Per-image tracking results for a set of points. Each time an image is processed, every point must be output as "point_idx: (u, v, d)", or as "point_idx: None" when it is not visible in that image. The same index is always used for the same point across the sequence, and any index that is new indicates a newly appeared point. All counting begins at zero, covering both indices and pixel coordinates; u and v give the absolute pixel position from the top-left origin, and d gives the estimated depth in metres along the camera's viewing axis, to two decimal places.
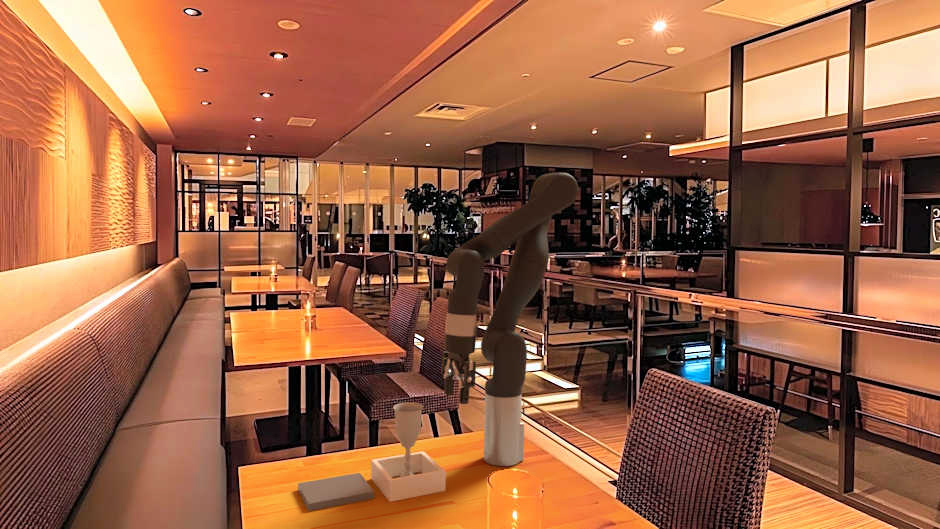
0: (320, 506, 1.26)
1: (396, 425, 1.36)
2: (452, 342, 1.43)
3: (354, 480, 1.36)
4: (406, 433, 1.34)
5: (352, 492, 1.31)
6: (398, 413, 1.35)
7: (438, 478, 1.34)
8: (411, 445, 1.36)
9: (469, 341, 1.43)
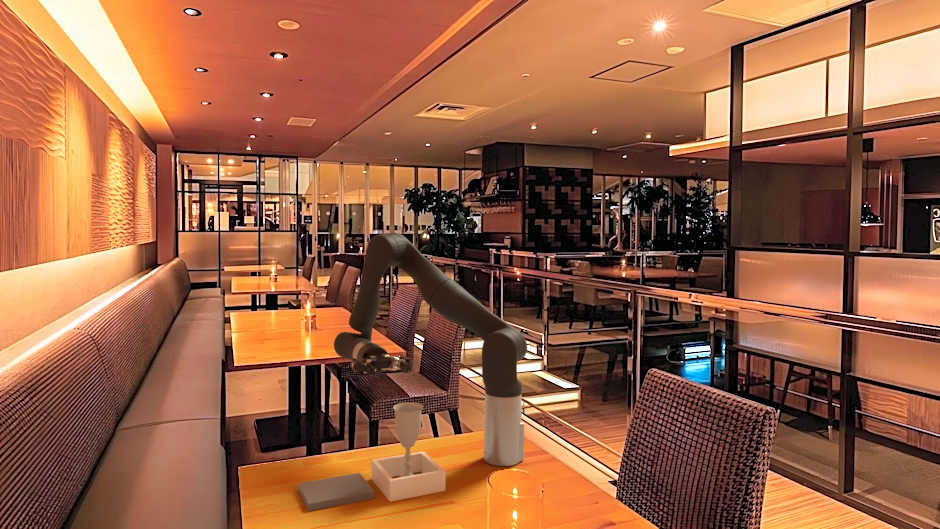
0: (320, 506, 1.26)
1: (396, 425, 1.36)
2: None
3: (354, 480, 1.36)
4: (406, 433, 1.34)
5: (352, 492, 1.31)
6: (398, 413, 1.35)
7: (438, 478, 1.34)
8: (411, 445, 1.36)
9: (358, 355, 1.59)
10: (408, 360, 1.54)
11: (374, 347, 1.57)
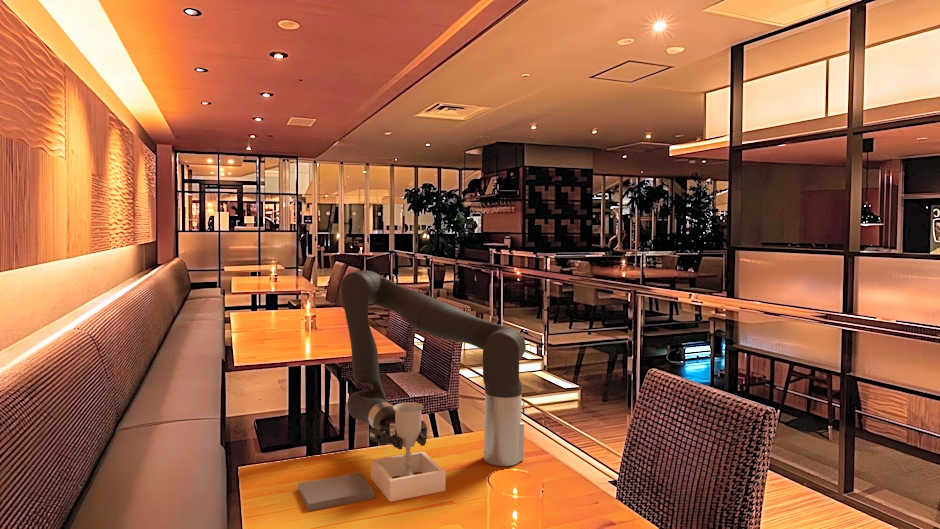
0: (320, 506, 1.26)
1: (396, 425, 1.36)
2: None
3: (354, 480, 1.36)
4: (406, 433, 1.34)
5: (352, 492, 1.31)
6: (398, 413, 1.35)
7: (438, 478, 1.34)
8: (411, 445, 1.36)
9: (375, 421, 1.47)
10: (424, 430, 1.41)
11: (392, 412, 1.46)
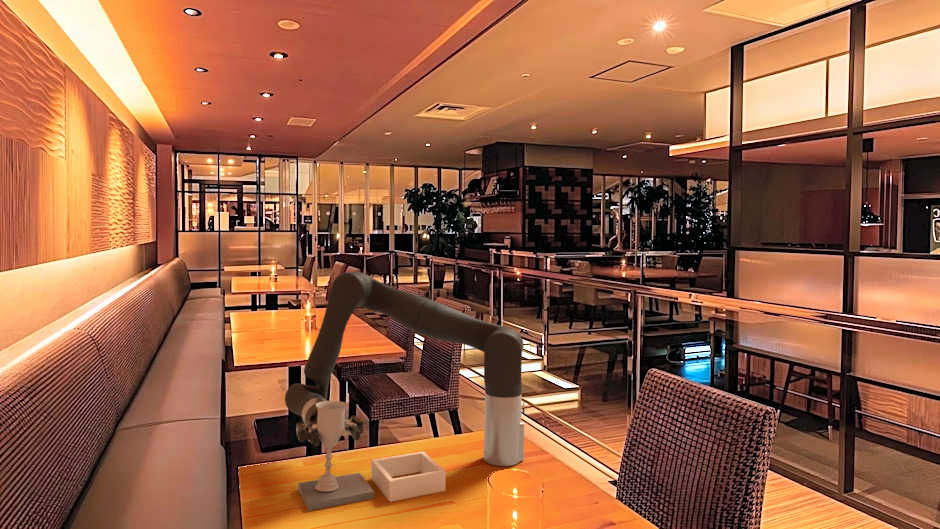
0: (320, 506, 1.26)
1: (317, 423, 1.31)
2: None
3: (354, 480, 1.36)
4: (326, 431, 1.29)
5: (352, 492, 1.31)
6: (320, 410, 1.30)
7: (438, 478, 1.34)
8: (332, 445, 1.31)
9: (306, 417, 1.42)
10: (360, 424, 1.37)
11: None
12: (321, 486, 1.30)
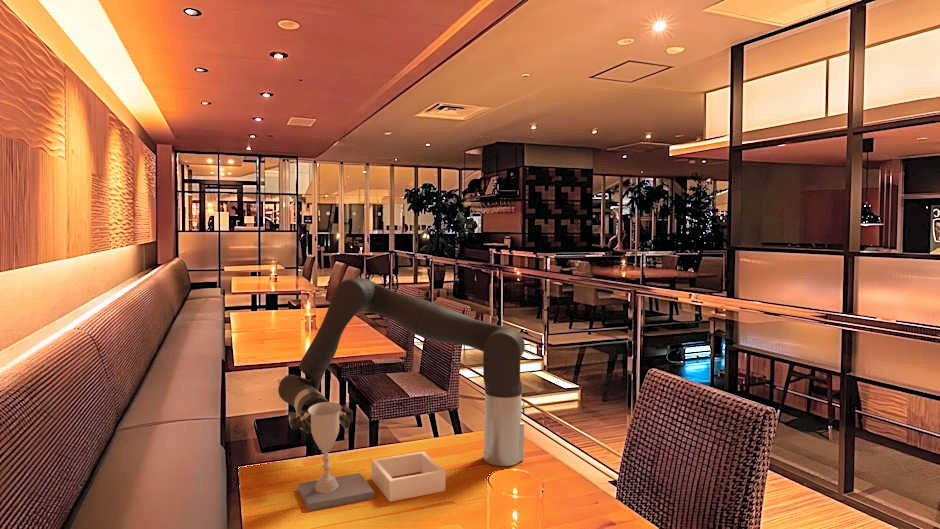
0: (320, 506, 1.26)
1: (311, 428, 1.28)
2: None
3: (354, 480, 1.36)
4: (321, 437, 1.27)
5: (352, 492, 1.31)
6: (312, 416, 1.27)
7: (438, 478, 1.34)
8: (328, 448, 1.30)
9: (298, 407, 1.49)
10: (350, 413, 1.44)
11: (314, 398, 1.47)
12: (321, 488, 1.30)
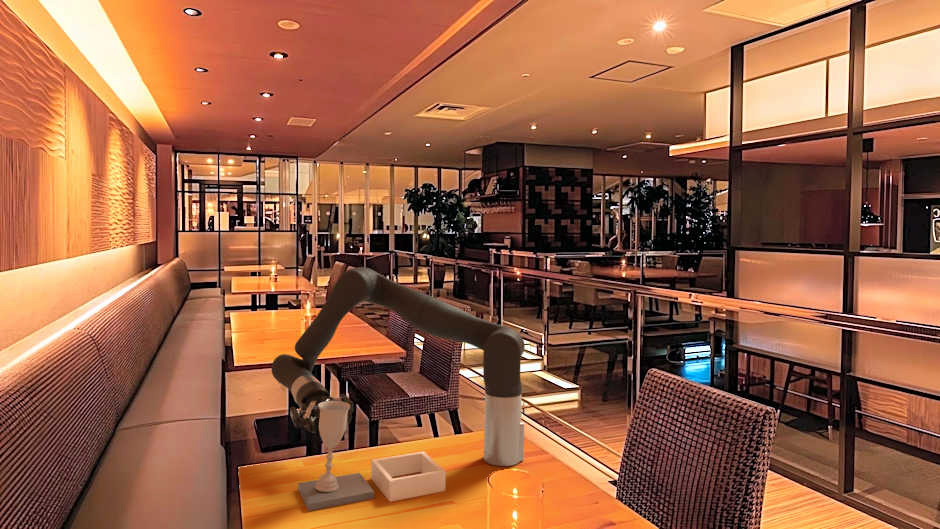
0: (320, 506, 1.26)
1: (319, 423, 1.30)
2: None
3: (354, 480, 1.36)
4: (328, 432, 1.29)
5: (352, 492, 1.31)
6: (322, 410, 1.29)
7: (438, 478, 1.34)
8: (333, 445, 1.31)
9: (297, 398, 1.51)
10: (350, 404, 1.48)
11: (313, 390, 1.49)
12: (321, 486, 1.30)
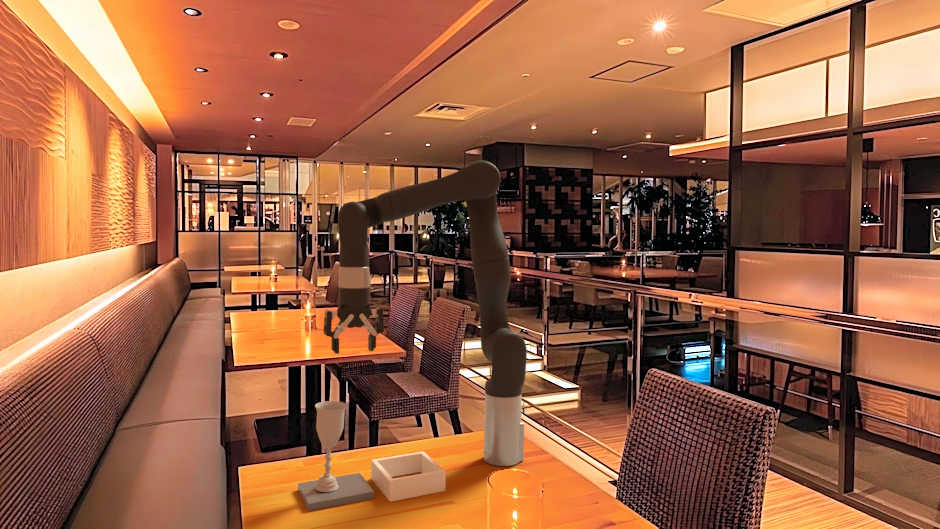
0: (320, 506, 1.26)
1: (317, 423, 1.30)
2: None
3: (354, 480, 1.36)
4: (326, 432, 1.29)
5: (352, 492, 1.31)
6: (319, 411, 1.29)
7: (438, 478, 1.34)
8: (332, 445, 1.31)
9: (340, 292, 1.44)
10: None
11: (356, 306, 1.43)
12: (321, 486, 1.30)
